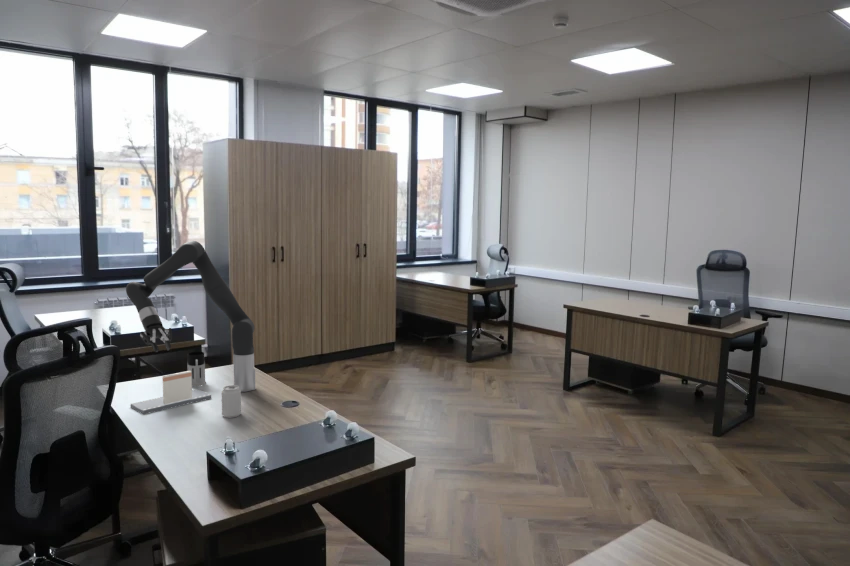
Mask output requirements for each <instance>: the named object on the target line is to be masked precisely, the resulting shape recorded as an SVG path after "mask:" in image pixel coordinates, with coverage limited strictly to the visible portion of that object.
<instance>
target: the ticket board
mask: <svg viewBox="0 0 850 566" xmlns="http://www.w3.org/2000/svg"><path fill="white" fill-rule="evenodd" d="M205 399H206V400H210V399H212V394H210V393H208V392H206V391H203V390H201V389H198V388H196V389H192V398H190V399H186V400H181V401H177V402H173V403H168V404H163V396H160V397H156V398H151V399H147V400H142V401H138V402H133V403H130V408H131V409H133V410H135V411H136V410H137V412H138V411H139V412H138V413H140V412H141V413H140V414H142V415H145V414H150V413H149V412H151V413H155V412H158V410H159V411H162V409H163V410H167V408H168V409H172V408H175V406H176V407H180V406H184V405H183V404H185V405H188V404H187V403H189V404H192V403H191V402H193V403H197V402H196V401H198V402H201V400H202V401H205ZM179 405H180V406H179ZM171 407H172V408H171ZM154 411H155V412H154Z"/></svg>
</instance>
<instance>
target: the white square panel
mask: <svg viewBox="0 0 850 566" xmlns="http://www.w3.org/2000/svg"><path fill="white" fill-rule="evenodd" d="M192 390H193V386H192V374H191V371H187V370H186V371H180V372H176V373H170V374H165V375H162V397H163V404H168V403H173V402H177V401H181V400H186V399H190V398H192Z"/></svg>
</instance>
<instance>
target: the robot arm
mask: <svg viewBox="0 0 850 566" xmlns="http://www.w3.org/2000/svg"><path fill="white" fill-rule="evenodd" d="M191 263H192V264H193V265H194V266H195V268H196V269H197V270H198V273H199V275H200V277H201V281H202V282H201V283H202V284H203V288H204V290H205V292H206V294H207V295H208V297H209V298H210V299H211V300H212V302H213V303H214V305H215V306H217V307H218V308H219V309H220V310H221V311H222V312H223V313H224V314H225V315H226V316H227V318H228V319H229V321H230V323H231V325H232V330H231V342H232V345H231V346H232V351H233V385H236V386H239V389H240V390H241V393H242V392H243V393H244V392H251V391H255V390H256V369H255V347H254V331H255V324H254V321H252V320H251V317H249V316H248V314H247V313H246V312H245V311H244V310H243V308H242V307H241V306H240V304H239V303H238V300H237V299H236V297H235V296H234V294H233V292H232V291H231V289H230V288H229V286H228V284H227V283H226V281H225V280H224V279H223V277H222V276H221V274H220V273H219V271H218V270H217V269H216V267H215V266H214V264H213V262H212V260H211V259H210V256H209V255H208V253H207V251H206V250H205V247H204V245H202V244H201V243H200V242H199V241H196V240H190V241H187V242H185V243H183V244H181V245H180V247H179V248H178V249H177V250H176V251H175V252H174V253H173V254H172V255H171V256H170V257H168V258H167V260H165V261H164V262H162V263H161V264H160V265H159V264H158V266H157V267H155V268H154V269H152V270H151V271H150V272H148V273H147V274H145V276H144V277H143V282H144V283H142V282H138V281H131V282H128V283H127V285H126V288H125V292H126V296H127V297H128V298H129V300H130V301H131V302H132V304H133V305H134V306H135V308H136V310H137V313H138V317H139V319H140V322H141V324H142V327H143V329H144V331H141V332H140V334H139V337H140V339H141V340H142V341H143V342H144V343H145V345H146V346H149V345H150V346H151V347H152V349H153V351H154V352H155V353H159V350H160V348H159V346H158V343H157V342H156V339H160V341H162V342H163V343H164V346H165V348H166V351H170V350H171V347H172V345H171V341H172V339H173V332H172V330H173V329H172V328H171V327H169V328H165V327H164V326H163V323H162V320H161V318H160V315H159V313H158V311H157V309H156V308H155V306H154V303H153V301H152V300H151V298H149V297H150V296H151V295H152V294H153V292H155V290H156V289H157V288H158V287H159V286H160V285H161V284H163V283H164V282H165V281H166V280H168V279H169V278H170V277H172V275H174V273H176V272H177V271H179V269H181V268H183V267H185V266H187V265H190V264H191Z"/></svg>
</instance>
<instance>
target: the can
mask: <svg viewBox="0 0 850 566" xmlns="http://www.w3.org/2000/svg"><path fill="white" fill-rule="evenodd" d="M241 414H242V392H241V390H240V389H239V386H236V385H234V384H233V385H226V386H224V387H223V389H222V390H221V415H222V416H223V417H224V418H226V419H233V418H237V417H239V416H240V415H241Z"/></svg>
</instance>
